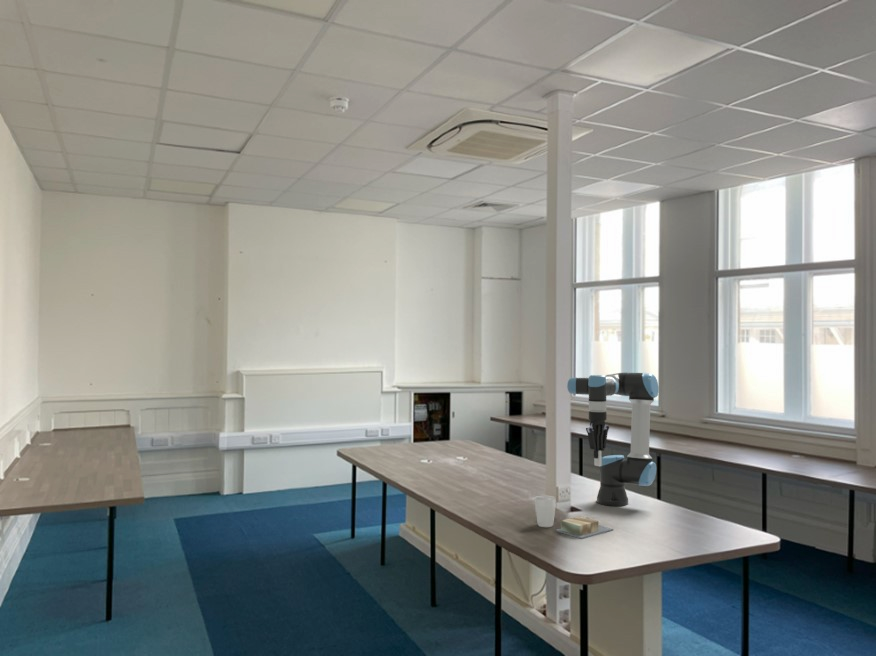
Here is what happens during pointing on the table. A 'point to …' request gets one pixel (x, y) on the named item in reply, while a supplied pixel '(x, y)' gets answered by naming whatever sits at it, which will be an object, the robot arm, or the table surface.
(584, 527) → the slab
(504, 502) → the table surface
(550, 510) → the white tapered cylinder
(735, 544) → the table surface
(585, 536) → the mat
